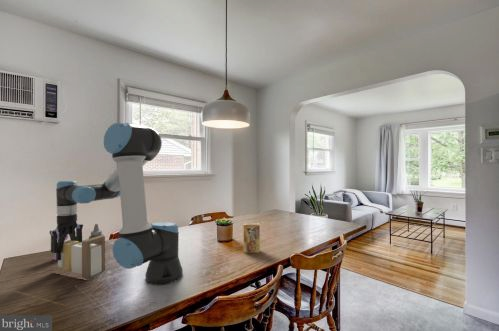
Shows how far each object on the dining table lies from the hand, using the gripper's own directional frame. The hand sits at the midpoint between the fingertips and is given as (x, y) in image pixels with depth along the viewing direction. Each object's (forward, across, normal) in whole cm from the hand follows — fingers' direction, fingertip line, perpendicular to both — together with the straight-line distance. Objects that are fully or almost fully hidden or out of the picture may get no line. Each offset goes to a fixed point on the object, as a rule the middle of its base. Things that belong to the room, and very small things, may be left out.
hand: (67, 263), depth 111 cm
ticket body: (+2, 0, +12) cm, 13 cm away
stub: (+2, 0, +1) cm, 2 cm away
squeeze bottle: (+2, -12, +2) cm, 13 cm away
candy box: (+3, -49, +74) cm, 89 cm away
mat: (+2, 0, +8) cm, 9 cm away
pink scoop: (+2, -9, -15) cm, 17 cm away
